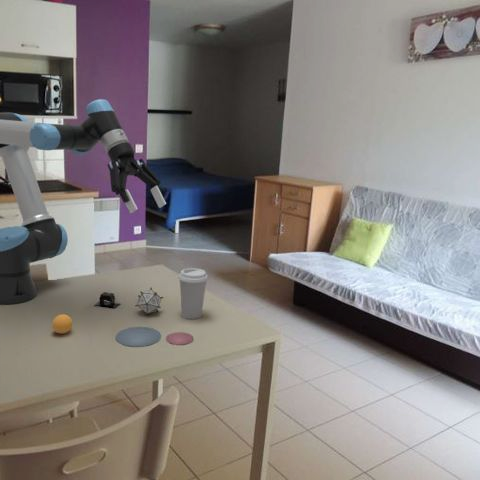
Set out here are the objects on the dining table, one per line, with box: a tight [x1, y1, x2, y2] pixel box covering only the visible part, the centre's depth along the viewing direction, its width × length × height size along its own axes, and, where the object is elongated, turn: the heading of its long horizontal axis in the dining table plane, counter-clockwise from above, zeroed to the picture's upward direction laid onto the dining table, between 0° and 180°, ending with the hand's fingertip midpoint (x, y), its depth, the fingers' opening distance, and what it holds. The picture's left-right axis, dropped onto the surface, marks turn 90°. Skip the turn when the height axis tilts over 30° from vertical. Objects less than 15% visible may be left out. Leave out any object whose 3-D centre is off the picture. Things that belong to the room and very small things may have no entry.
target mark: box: [115, 326, 162, 348], centre depth 139 cm, size 13×13×1 cm
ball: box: [51, 313, 73, 334], centre depth 138 cm, size 6×6×6 cm
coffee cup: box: [177, 267, 209, 320], centre depth 155 cm, size 10×10×15 cm
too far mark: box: [165, 331, 194, 346], centre depth 140 cm, size 8×8×1 cm
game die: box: [134, 286, 164, 317], centre depth 156 cm, size 9×8×10 cm
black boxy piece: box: [92, 291, 122, 310], centre depth 161 cm, size 12×7×5 cm, turn 79°
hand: (149, 208), depth 145 cm, fingers open, 13 cm apart
